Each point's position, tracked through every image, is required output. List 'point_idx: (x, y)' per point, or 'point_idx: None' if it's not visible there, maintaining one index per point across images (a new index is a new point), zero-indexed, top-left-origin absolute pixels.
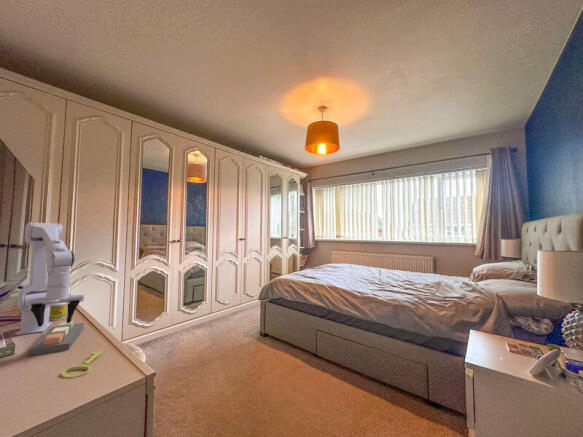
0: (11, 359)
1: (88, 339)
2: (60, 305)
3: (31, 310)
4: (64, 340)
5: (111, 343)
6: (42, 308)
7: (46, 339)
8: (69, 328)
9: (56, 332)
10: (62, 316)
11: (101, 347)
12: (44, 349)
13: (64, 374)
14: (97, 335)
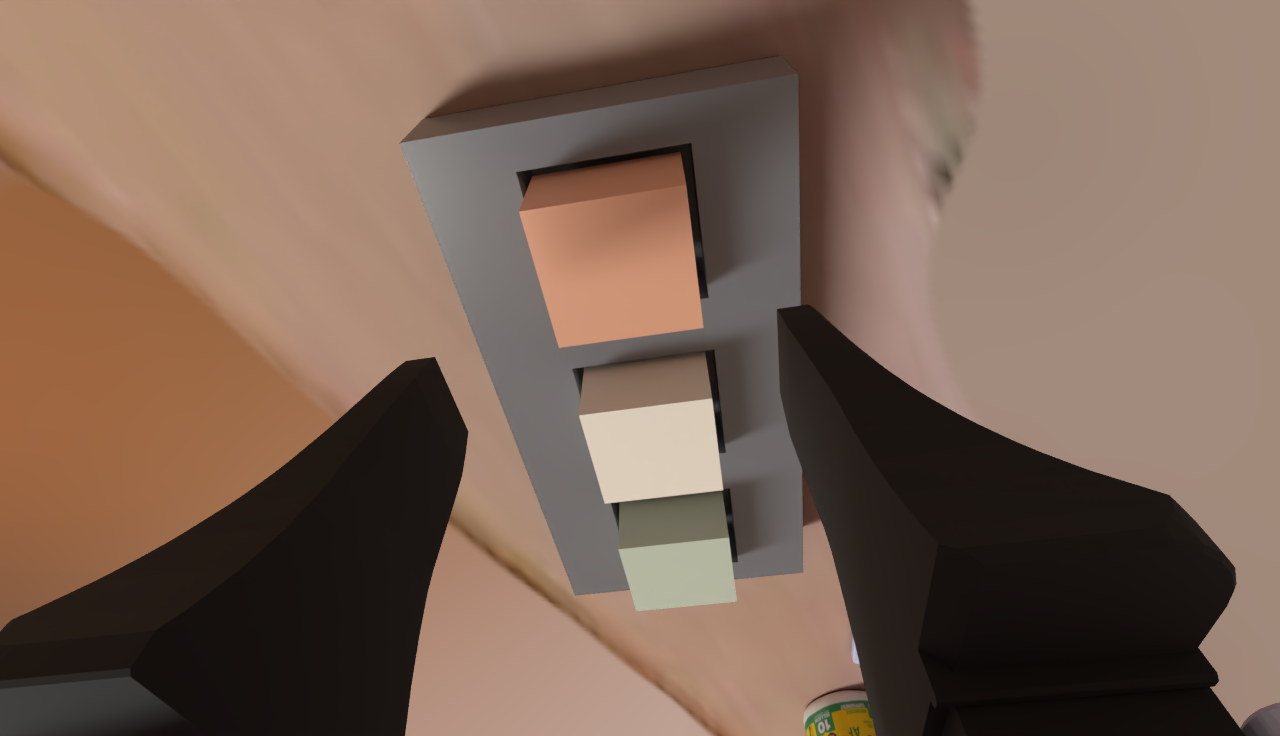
0: (922, 27)
1: (383, 333)
2: None
3: (1150, 499)
4: (514, 247)
5: (21, 163)
6: (889, 628)
7: (656, 186)
8: (629, 510)
9: (661, 395)
10: (816, 718)
11: (51, 72)
12: (641, 95)
13: None
14: (357, 400)
